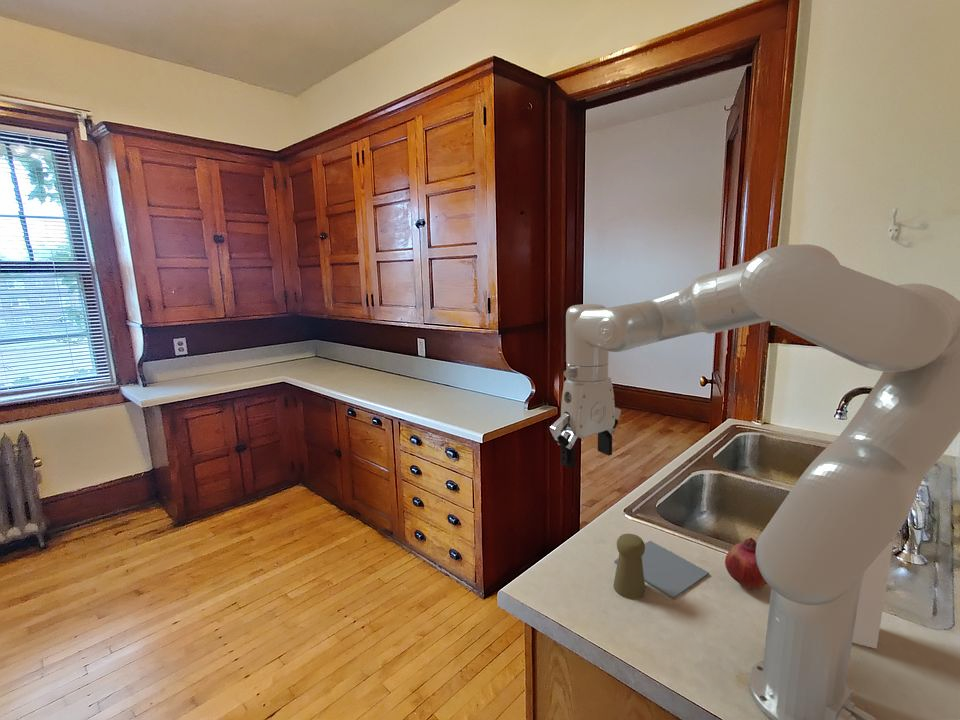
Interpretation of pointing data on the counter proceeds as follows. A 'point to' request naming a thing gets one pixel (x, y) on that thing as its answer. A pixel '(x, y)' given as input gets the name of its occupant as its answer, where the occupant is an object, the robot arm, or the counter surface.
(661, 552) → the grey mat
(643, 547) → the olive brown rounded cylinder
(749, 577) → the fruit
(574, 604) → the counter surface
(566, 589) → the counter surface
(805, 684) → the robot arm
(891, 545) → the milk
